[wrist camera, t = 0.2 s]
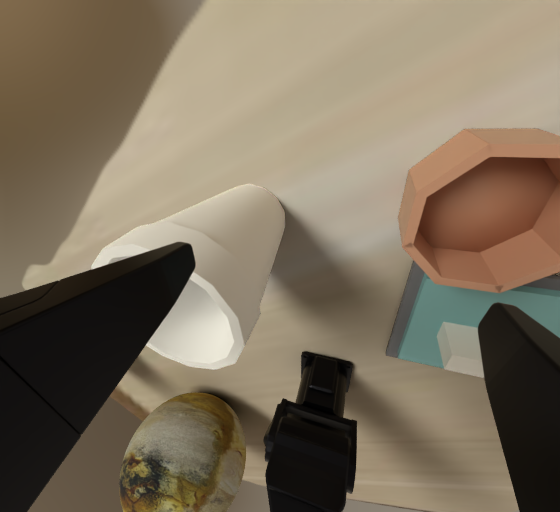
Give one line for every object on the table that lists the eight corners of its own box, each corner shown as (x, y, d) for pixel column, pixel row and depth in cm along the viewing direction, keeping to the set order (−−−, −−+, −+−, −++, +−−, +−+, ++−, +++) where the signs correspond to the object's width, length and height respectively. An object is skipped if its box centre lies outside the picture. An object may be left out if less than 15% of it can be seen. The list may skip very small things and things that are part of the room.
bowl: (518, 259, 19) (549, 300, 16) (391, 245, 22) (394, 278, 18) (595, 128, 14) (666, 145, 11) (418, 129, 17) (429, 143, 13)
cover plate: (518, 378, 25) (541, 425, 22) (397, 351, 28) (400, 389, 25) (590, 294, 19) (637, 342, 15) (424, 272, 22) (433, 308, 18)
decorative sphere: (214, 363, 43) (121, 526, 28) (282, 427, 49) (237, 590, 34) (156, 375, 54) (66, 497, 38) (218, 427, 60) (161, 550, 44)
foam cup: (312, 181, 21) (250, 282, 11) (293, 267, 26) (240, 387, 16) (207, 155, 22) (66, 222, 12) (210, 242, 28) (115, 336, 18)
